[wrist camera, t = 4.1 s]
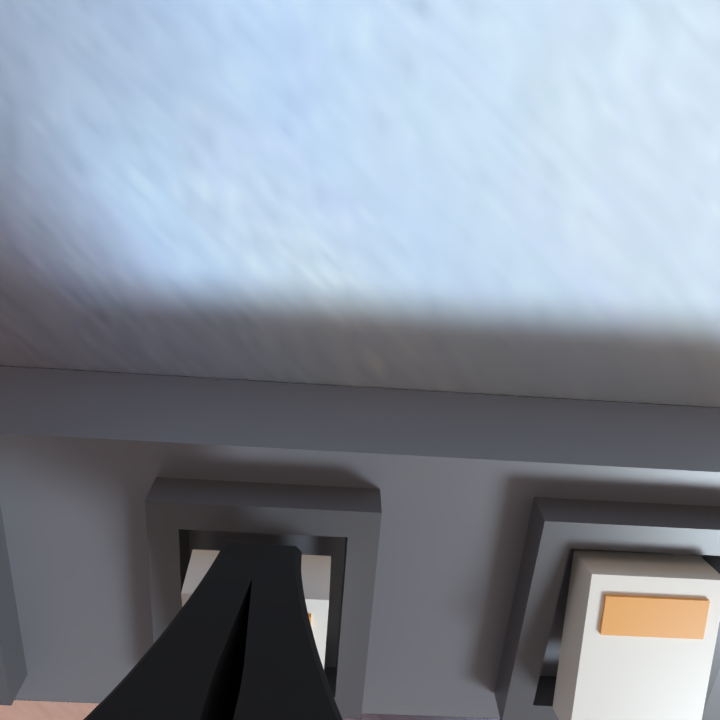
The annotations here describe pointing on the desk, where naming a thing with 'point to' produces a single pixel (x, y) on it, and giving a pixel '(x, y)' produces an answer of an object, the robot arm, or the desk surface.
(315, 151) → the desk surface
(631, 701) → the rocker
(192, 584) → the middle rocker
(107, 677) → the rocker switch panel
